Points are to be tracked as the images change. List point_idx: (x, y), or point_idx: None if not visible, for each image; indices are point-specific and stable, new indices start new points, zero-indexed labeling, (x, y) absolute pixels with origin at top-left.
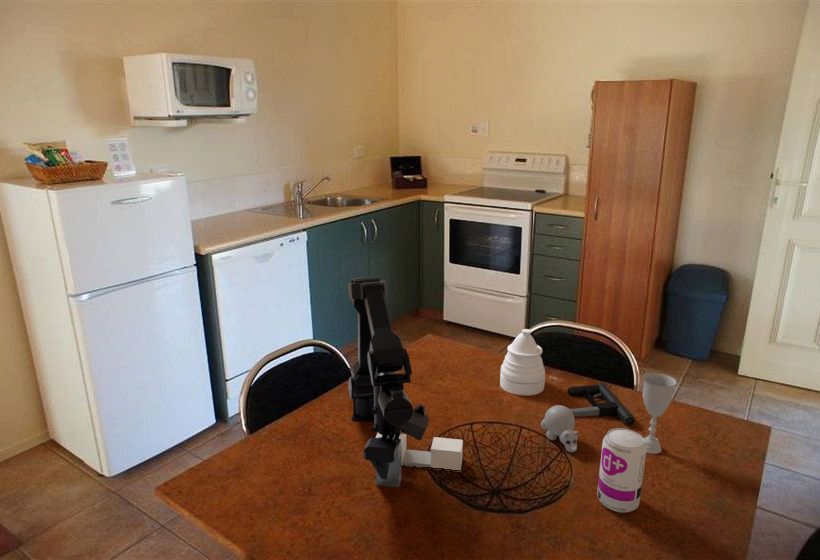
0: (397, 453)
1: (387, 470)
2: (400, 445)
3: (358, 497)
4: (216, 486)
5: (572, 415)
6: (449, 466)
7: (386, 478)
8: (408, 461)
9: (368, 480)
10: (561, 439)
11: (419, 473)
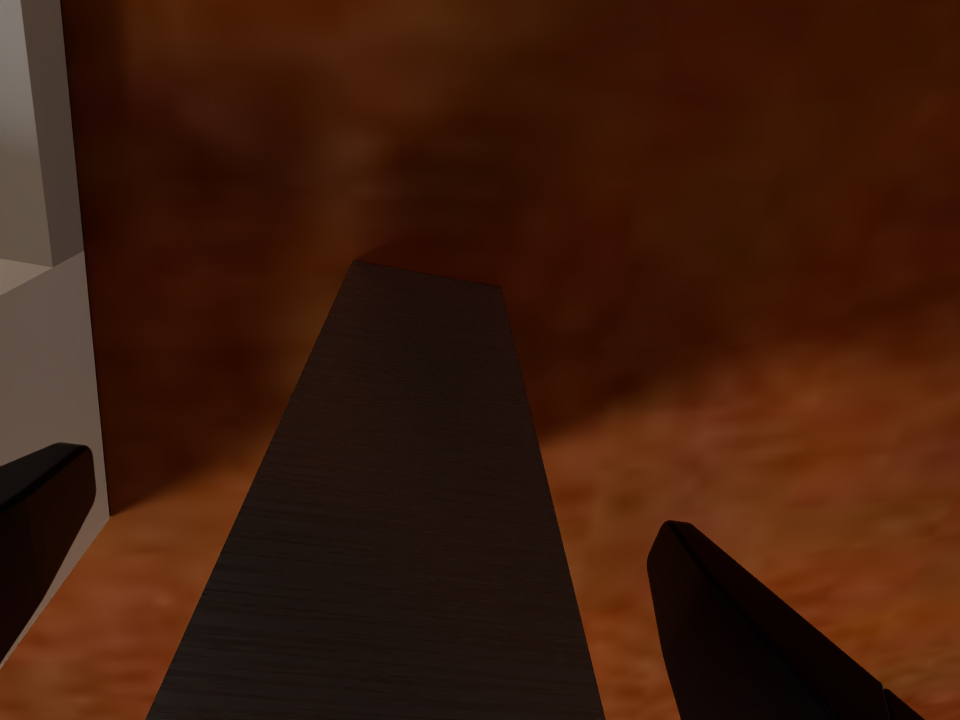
0: (582, 676)
1: (844, 655)
2: (282, 707)
3: (603, 577)
4: None
5: None
6: None
7: (695, 527)
8: (25, 185)
9: None
10: None
11: (207, 23)
